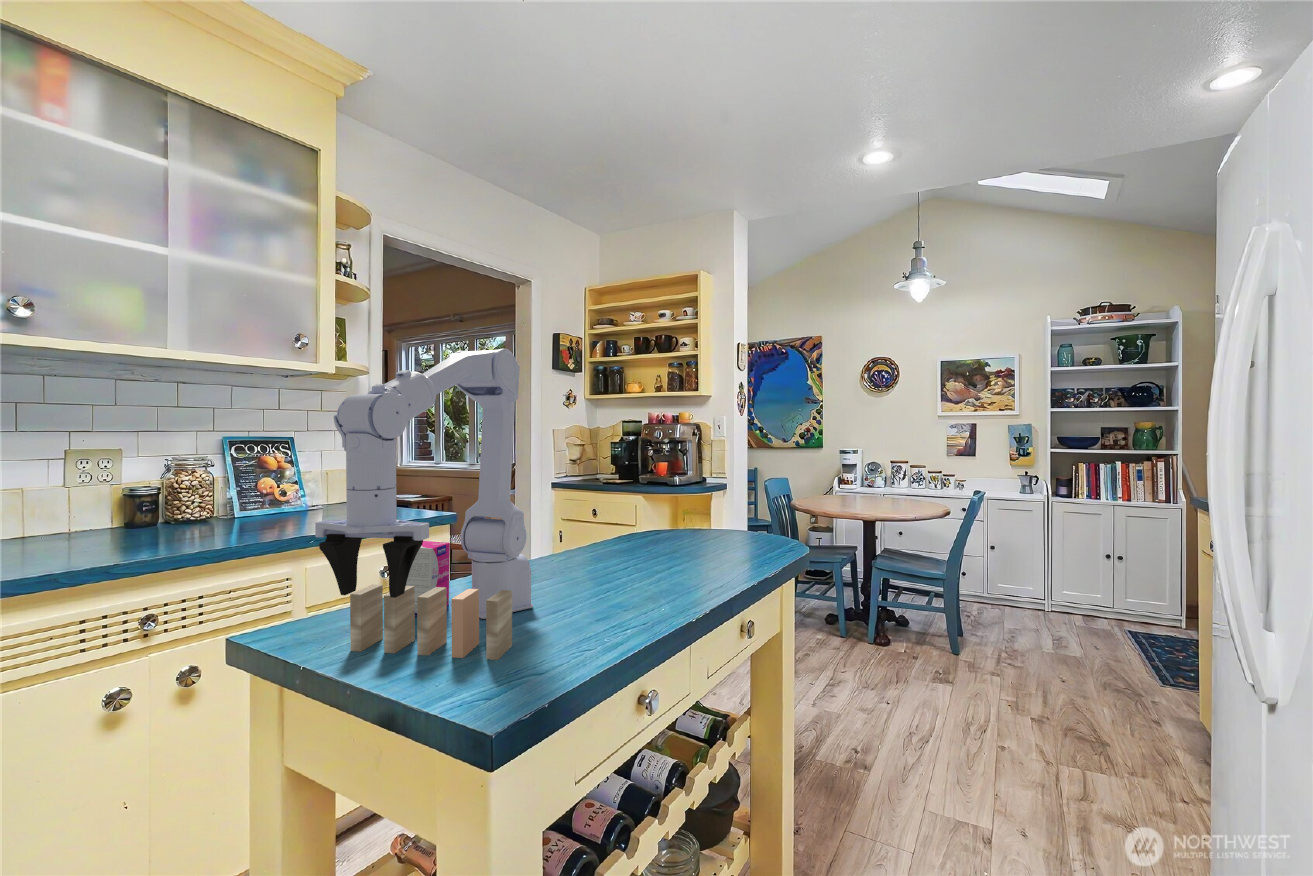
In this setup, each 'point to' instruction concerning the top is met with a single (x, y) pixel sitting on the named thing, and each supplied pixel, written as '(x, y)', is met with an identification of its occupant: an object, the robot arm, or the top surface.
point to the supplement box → (430, 569)
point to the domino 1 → (366, 617)
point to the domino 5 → (498, 624)
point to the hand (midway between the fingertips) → (372, 594)
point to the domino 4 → (465, 622)
